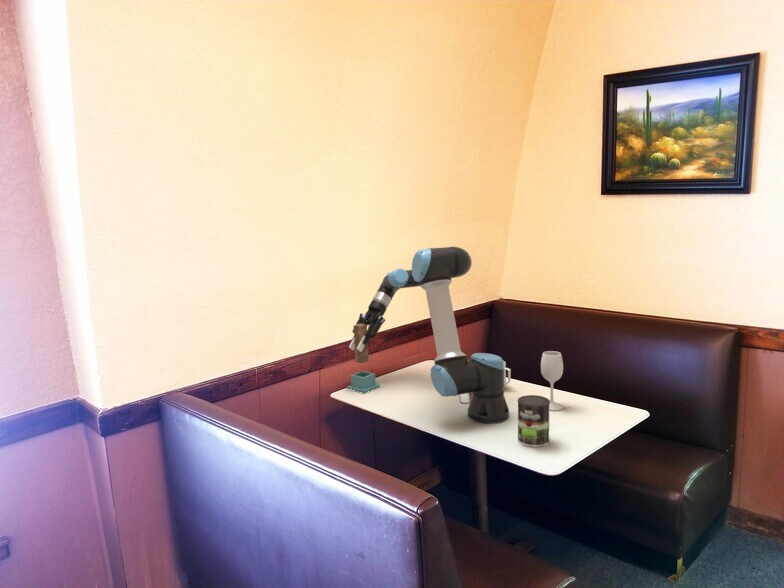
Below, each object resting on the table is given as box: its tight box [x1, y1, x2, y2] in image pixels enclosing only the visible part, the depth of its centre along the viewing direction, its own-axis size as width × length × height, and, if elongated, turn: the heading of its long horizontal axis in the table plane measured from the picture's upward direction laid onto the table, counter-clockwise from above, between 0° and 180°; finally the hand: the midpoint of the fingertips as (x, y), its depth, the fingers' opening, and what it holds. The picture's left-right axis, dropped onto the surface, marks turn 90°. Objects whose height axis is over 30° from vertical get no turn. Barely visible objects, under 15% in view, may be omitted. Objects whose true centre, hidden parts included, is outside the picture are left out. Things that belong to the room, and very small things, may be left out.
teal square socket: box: [346, 370, 381, 394], centre depth 259 cm, size 10×10×6 cm
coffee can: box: [517, 394, 550, 448], centre depth 198 cm, size 10×10×14 cm
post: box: [353, 324, 369, 364], centre depth 257 cm, size 4×4×16 cm
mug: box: [503, 360, 512, 389], centre depth 251 cm, size 12×9×11 cm
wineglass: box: [540, 350, 565, 411], centre depth 227 cm, size 9×9×21 cm
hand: (355, 349), depth 255 cm, fingers closed on post, 4 cm apart
